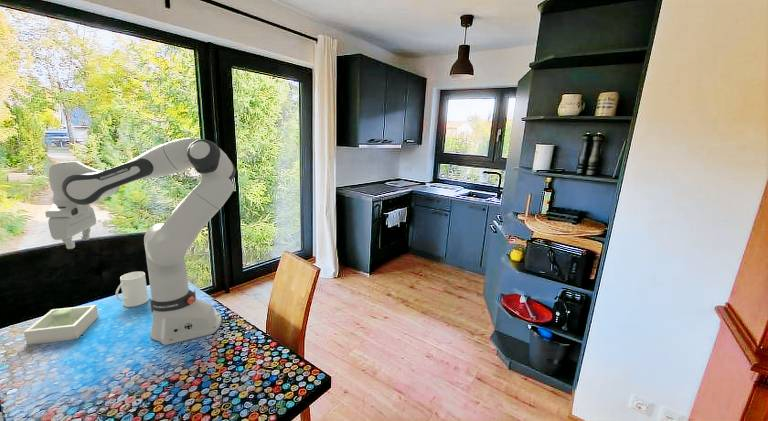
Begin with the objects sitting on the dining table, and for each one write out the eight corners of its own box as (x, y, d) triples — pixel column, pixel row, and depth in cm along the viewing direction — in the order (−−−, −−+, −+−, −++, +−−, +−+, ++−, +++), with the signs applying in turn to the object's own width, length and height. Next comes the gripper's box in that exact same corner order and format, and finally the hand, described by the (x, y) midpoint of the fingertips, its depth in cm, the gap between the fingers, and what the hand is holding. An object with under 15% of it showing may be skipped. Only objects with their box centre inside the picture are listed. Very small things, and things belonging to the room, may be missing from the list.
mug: (125, 312, 122) (121, 284, 119) (109, 308, 124) (104, 281, 121) (153, 298, 133) (150, 272, 130) (138, 295, 135) (135, 269, 132)
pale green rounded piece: (59, 324, 111) (56, 309, 109) (77, 322, 112) (74, 307, 111) (50, 332, 106) (47, 317, 105) (69, 330, 108) (66, 315, 106)
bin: (98, 316, 118) (96, 304, 117) (77, 338, 105) (74, 325, 104) (54, 321, 114) (51, 309, 113) (26, 345, 101) (23, 331, 100)
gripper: (78, 201, 118) (83, 235, 121) (41, 213, 99) (49, 254, 102) (98, 201, 120) (103, 234, 123) (66, 213, 101) (73, 252, 104)
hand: (78, 243), depth 112 cm, fingers open, 8 cm apart
